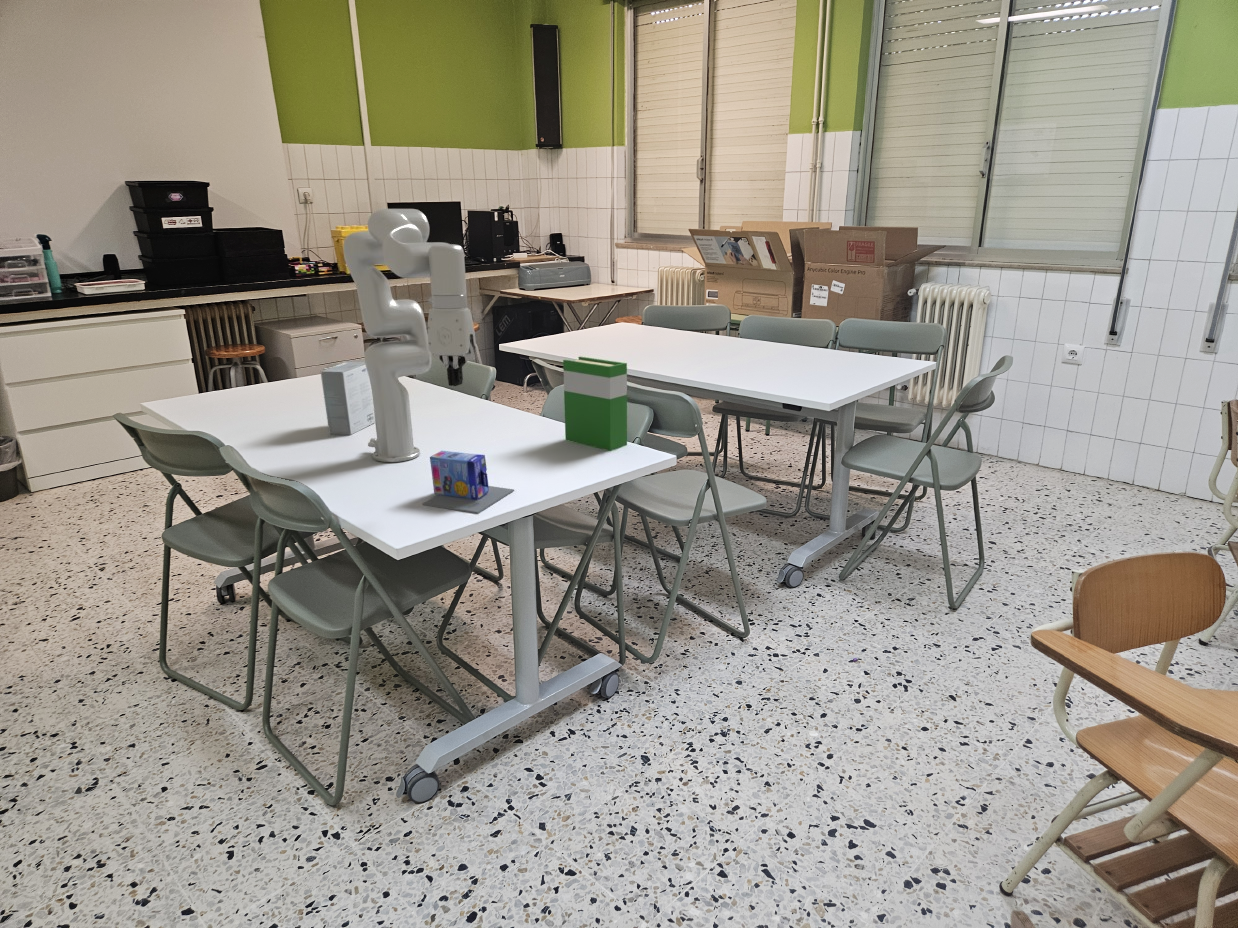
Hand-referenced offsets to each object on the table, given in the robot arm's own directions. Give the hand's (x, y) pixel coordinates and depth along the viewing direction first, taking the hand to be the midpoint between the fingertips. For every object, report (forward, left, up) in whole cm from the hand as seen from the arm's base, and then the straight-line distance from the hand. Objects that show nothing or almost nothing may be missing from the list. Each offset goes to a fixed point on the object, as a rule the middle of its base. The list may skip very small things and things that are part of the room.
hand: (455, 384), depth 173 cm
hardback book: (+11, +53, -27) cm, 60 cm away
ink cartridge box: (-7, -1, -22) cm, 23 cm away
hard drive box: (-68, +39, -27) cm, 83 cm away
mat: (+2, -1, -27) cm, 27 cm away
